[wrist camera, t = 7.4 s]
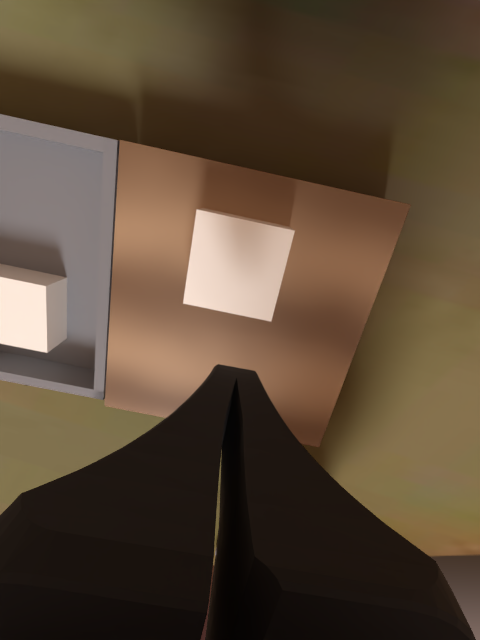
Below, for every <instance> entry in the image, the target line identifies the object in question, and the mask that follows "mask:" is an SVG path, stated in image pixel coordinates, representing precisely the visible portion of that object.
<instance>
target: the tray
mask: <svg viewBox="0 0 480 640" xmlns="http://www.w3.org/2000/svg"><path fill="white" fill-rule="evenodd" d="M119 144H120V141H118V140H114V139H110V138H105V137H101V136H96V135H92V134H87V133H83V132H79V131H74V130H70V129H65V128H61V127H56V126H52V125H47V124H43V123H38V122H34V121H29V120H25V119H20V118H16V117H11V116H7V115H2V114H0V264H4V265H9V266H14V267H19V268H24V269H29V270H33V271H38V272H43V273H48V274H53V275H58V276H62V277H67V339H65V340H64V341H63V342H61V343H60V344H59V345H57V346H56V347H55V348H53V349H52V350H51V351H49V352H48V353H45V352H40V351H35V350H30V349H25V348H20V347H15V346H10V345H5V344H0V380H3V381H9V382H14V383H19V384H24V385H29V386H34V387H40V388H45V389H50V390H55V391H60V392H65V393H71V394H76V395H81V396H86V397H91V398H96V399H102V400H104V398H105V390H106V372H107V355H108V337H109V320H110V302H111V285H112V267H113V249H114V232H115V214H116V197H117V179H118V161H119Z"/></svg>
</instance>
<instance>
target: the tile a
mask: <svg viewBox="0 0 480 640" xmlns="http://www.w3.org/2000/svg"><path fill="white" fill-rule="evenodd" d="M65 339H67V277H62V276H58V275H53V274H48V273H43V272H38V271H33V270H29V269H24V268H19V267H14V266H9V265H4V264H0V344H5V345H10V346H15V347H20V348H25V349H30V350H35V351H40V352H45V353H48V352H49V351H51V350H52V349H53V348H55V347H56V346H57V345H59V344H60V343H61V342H63V341H64V340H65Z"/></svg>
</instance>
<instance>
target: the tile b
mask: <svg viewBox="0 0 480 640" xmlns="http://www.w3.org/2000/svg"><path fill="white" fill-rule="evenodd" d="M294 232H295V230H293V229H292V228H290V227H288V226H283V225H279V224H274V223H270V222H265V221H260V220H256V219H251V218H247V217H242V216H237V215H233V214H228V213H224V212H219V211H215V210H210V209H205V208H202V209H197V210H196V217H195V224H194V231H193V238H192V245H191V252H190V258H189V265H188V272H187V279H186V286H185V293H184V300H183V304H188V305H193V306H198V307H203V308H207V309H212V310H217V311H222V312H227V313H232V314H236V315H241V316H246V317H251V318H256V319H261V320H266V321H270V322H271V321H272V317H273V313H274V309H275V305H276V302H277V298H278V294H279V290H280V286H281V282H282V279H283V275H284V271H285V267H286V263H287V259H288V255H289V252H290V248H291V244H292V240H293V236H294Z"/></svg>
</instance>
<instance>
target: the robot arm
mask: <svg viewBox="0 0 480 640" xmlns="http://www.w3.org/2000/svg"><path fill="white" fill-rule="evenodd" d="M221 449H222V460H221V489H220V518H219V531H218V541H217V548H216V553H215V554H216V557H215V566H214V574H213V582H212V591H211V598H210V606H209V614H208V622H207V630H206V637H205V640H476V639H475V637H474V634H473V632H472V630H471V628H470V626H469V624H468V622H467V620H466V618H465V616H464V614H463V612H462V610H461V608H460V606H459V604H458V602H457V600H456V598H455V596H454V594H453V592H452V590H451V588H450V586H449V584H448V582H447V581H446V579H445V577H444V575H443V573H442V572H441V570H440V568H439V566H438V565H437V563H436V561H434V560H433V559H432V558H431V557H429V556H428V555H427V554H425V553H424V552H422V551H421V550H420V549H418V548H417V547H416V546H414V545H413V544H412V543H410V542H409V541H408V540H406V539H405V538H404V537H402V536H401V535H400V534H398V533H397V532H395V531H394V530H393V529H391V528H390V527H389V526H387V525H386V524H385V523H384V522H382V521H381V520H380V519H379V518H377V517H376V516H375V515H374V514H373V513H371V512H370V511H369V510H368V509H367V508H365V507H364V506H363V505H362V504H361V503H359V502H358V501H357V500H356V499H355V498H354V497H353V496H351V495H350V494H349V493H348V492H347V491H346V490H345V489H344V488H343V487H342V486H340V485H339V484H338V483H337V482H336V481H335V480H334V479H333V478H332V477H331V476H330V475H329V474H328V473H327V472H326V471H325V470H324V469H323V468H322V467H321V466H320V465H319V464H318V463H317V462H316V460H315V459H314V458H313V457H312V456H311V455H310V454H309V453H308V451H307V450H306V449H305V448H304V447H303V446H302V444H301V443H300V442H299V441H298V440H297V438H296V437H295V436H294V435H293V433H292V432H291V431H290V429H289V428H288V426H287V425H286V423H285V422H284V420H283V419H282V417H281V416H280V414H279V413H278V411H277V409H276V408H275V406H274V405H273V403H272V401H271V400H270V398H269V396H268V394H267V392H266V390H265V389H264V387H263V385H262V383H261V381H260V378H259V376H258V374H257V373H256V371H253V370H248V369H242V368H237V367H231V366H226V365H220V364H217V365H216V366H214V368H213V370H212V371H211V373H210V374H209V376H208V377H207V378H206V379H205V381H204V382H203V383H202V384H201V385H200V386H199V388H198V389H197V390H196V391H195V392H194V393H193V394H192V395H191V396H190V397H189V398H188V399H187V400H186V401H185V402H184V403H183V404H182V405H181V406H179V407H178V408H177V409H176V410H175V411H174V412H173V413H172V414H170V415H169V416H168V417H167V418H165V419H164V420H163V421H162V422H160V423H159V424H158V425H156V426H155V427H154V428H152V429H151V430H149V431H148V432H146V433H145V434H143V435H142V436H140V437H139V438H137V439H136V440H134V441H133V442H131V443H129V444H128V445H126V446H124V447H123V448H121V449H119V450H117V451H115V452H113V453H112V454H110V455H108V456H106V457H104V458H102V459H100V460H98V461H96V462H94V463H92V464H90V465H88V466H86V467H84V468H82V469H80V470H77V471H75V472H73V473H70V474H68V475H66V476H63V477H61V478H58V479H56V480H54V481H51V482H49V483H46V484H44V485H41V486H39V487H37V488H34V489H31V490H29V491H26V492H24V493H21V494H20V495H19V496H18V497H17V499H16V500H15V501H14V502H13V503H12V504H11V505H10V506H9V507H8V508H7V509H6V510H5V511H4V512H3V513H2V514H1V515H0V640H200V639H201V635H202V631H203V627H204V622H205V619H206V615H207V609H208V603H209V594H210V585H211V576H212V567H213V558H214V540H215V523H216V508H217V493H218V481H219V469H220V458H221Z"/></svg>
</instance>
